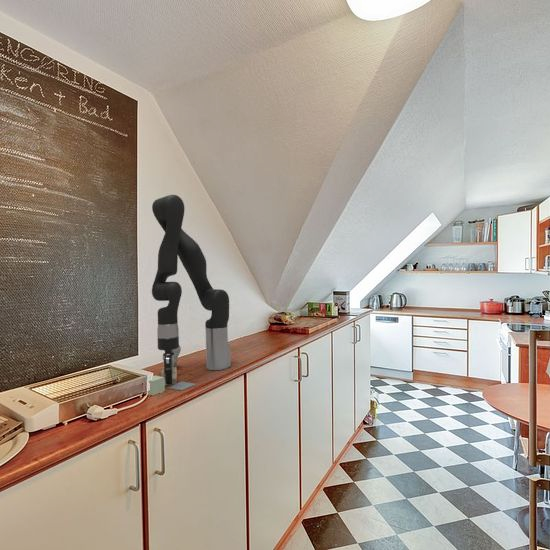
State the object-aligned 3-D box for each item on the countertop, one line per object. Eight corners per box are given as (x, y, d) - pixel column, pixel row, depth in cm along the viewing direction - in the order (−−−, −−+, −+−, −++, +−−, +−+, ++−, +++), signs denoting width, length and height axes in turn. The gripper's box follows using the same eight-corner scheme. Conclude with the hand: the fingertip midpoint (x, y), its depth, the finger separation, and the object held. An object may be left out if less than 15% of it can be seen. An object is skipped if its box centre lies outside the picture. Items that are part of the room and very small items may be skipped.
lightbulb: (175, 365, 155) (175, 340, 155) (184, 367, 152) (183, 341, 152) (163, 368, 151) (162, 342, 151) (171, 370, 147) (171, 344, 147)
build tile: (181, 382, 130) (181, 381, 130) (196, 385, 126) (196, 383, 126) (166, 388, 124) (166, 387, 124) (182, 391, 120) (182, 389, 120)
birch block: (176, 380, 133) (176, 367, 133) (176, 384, 128) (175, 370, 128) (162, 381, 132) (162, 368, 132) (161, 385, 127) (161, 371, 127)
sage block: (154, 389, 123) (153, 375, 123) (164, 391, 120) (164, 377, 120) (142, 394, 118) (142, 379, 118) (153, 396, 116) (152, 381, 116)
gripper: (159, 333, 136) (160, 377, 136) (155, 339, 122) (156, 388, 122) (179, 332, 138) (180, 375, 138) (178, 338, 124) (179, 386, 124)
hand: (169, 381), depth 130 cm, fingers closed on birch block, 5 cm apart
